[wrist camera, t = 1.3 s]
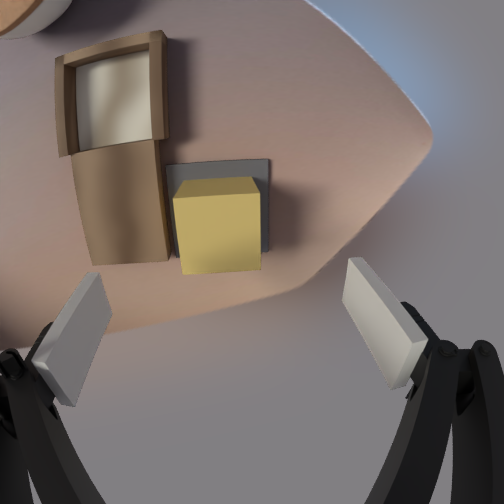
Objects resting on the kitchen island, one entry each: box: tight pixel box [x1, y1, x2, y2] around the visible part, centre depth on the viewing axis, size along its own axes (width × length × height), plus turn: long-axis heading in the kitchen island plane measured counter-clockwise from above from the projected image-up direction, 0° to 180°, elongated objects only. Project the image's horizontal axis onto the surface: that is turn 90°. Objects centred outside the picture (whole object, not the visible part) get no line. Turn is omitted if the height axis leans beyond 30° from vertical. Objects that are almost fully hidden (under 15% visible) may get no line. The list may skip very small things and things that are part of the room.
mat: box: [166, 159, 268, 258], centre depth 26 cm, size 9×9×1 cm
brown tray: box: [55, 30, 171, 266], centre depth 22 cm, size 10×20×2 cm, turn 1°
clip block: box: [173, 177, 261, 275], centre depth 23 cm, size 6×6×6 cm
